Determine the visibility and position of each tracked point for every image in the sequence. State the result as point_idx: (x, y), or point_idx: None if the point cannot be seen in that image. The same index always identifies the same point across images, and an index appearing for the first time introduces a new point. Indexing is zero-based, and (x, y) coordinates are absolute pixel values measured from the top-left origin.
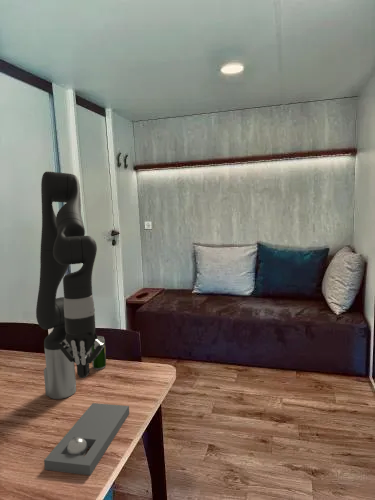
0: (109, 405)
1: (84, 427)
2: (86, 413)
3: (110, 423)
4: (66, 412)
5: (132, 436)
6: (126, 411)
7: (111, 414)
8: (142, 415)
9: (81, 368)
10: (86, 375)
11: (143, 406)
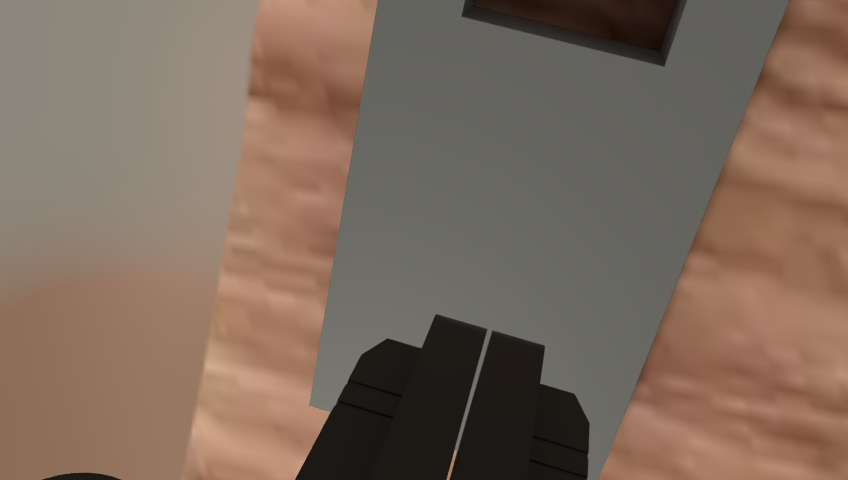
0: None
1: (596, 191)
2: (617, 372)
3: (395, 215)
4: (803, 469)
5: (249, 121)
6: (320, 356)
7: (414, 326)
8: (237, 338)
9: (443, 452)
10: (385, 346)
11: (254, 430)
